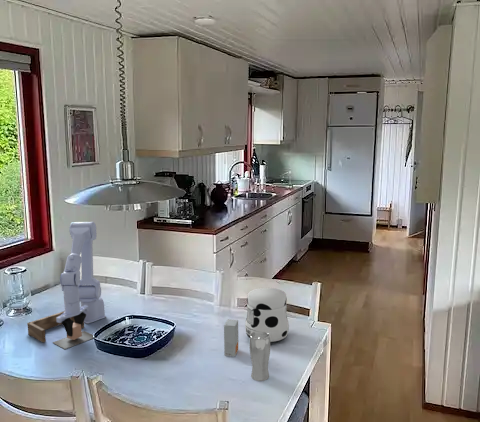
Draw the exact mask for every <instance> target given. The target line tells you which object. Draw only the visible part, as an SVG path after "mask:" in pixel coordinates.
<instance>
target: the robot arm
mask: <svg viewBox="0 0 480 422" xmlns="http://www.w3.org/2000/svg"><path fill="white" fill-rule="evenodd" d="M68 228H69V231H68V232H69V235H70V237H71V239H72V242H71V250H70V254H68V255H67V257H66V261H65V264H64V265H65V266H64V269H63V272H61V273H60V275H59V284H60V287H61V291H63V292H62V293H63V301H64V313H63V314H61V315H60V316H58V317H56V321H57V322H58V323H62V324H61V325H62V326H63V328H64V330H65V332H66V336H67V335H68V336H72V335H73V330H72V328H73V322H74V321H73V320H71V319H70V318H71V317H74V320H75V323H78V324H81V330H82V329H83V328H82V325H83V322H84V324H86V325H87V324H91V323H93V322H97V321H101V320H103V319H105V318H106V317H107V316H106V314H105V313H106V310H105V303H104V299H103V298H102V297H101V295H102V287H101V282H100V280H98V279H97V278H95V277H94V253H93V250H94V249H93V244H94V243H93V241H95V240H97V225H96V223H95V221H75V222H74V221H72V222H71V223H70V224H69V227H68Z"/></svg>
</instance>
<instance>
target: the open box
mask: <svg viewBox="0 0 480 422" xmlns="http://www.w3.org/2000/svg"><path fill="white" fill-rule="evenodd" d="M63 313H64V311H61V312H57V313H53V314H51V315H48V316H44V317H41V318H38V319H36V320H32V321H29V322H26V323H27V335H28V336H30V337H33V338H34V339H36V340H38V341H39V342H41V343H45V342H46V340H47V339H46V331H47V330H49V329H52V328H55V327H57V326H58V327H59V326H60V325H62V323H58V322H57V321H56V317H58V316H60V315H61V314H63ZM70 319H71V320H73V321H74V322H73V323H75V320H74V317H71V318H70ZM84 328H85V322H83V325H82V329H84ZM93 335H94V334H92V333H90V332H88V331H86V330H83V331H82V336H81V337H79V338H77V339H75V340H72V339H69V338H67V336H66V337H64V338H61V339H58V340H56V341H52V344H54V345H55V346H57V347H60V348H61V349H63V350H68V349H70V348H72V347H75V346H79V345H81V344H83V343H86V342H89V341H90V340H93Z"/></svg>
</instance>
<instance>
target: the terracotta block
mask: <svg viewBox="0 0 480 422" xmlns="http://www.w3.org/2000/svg"><path fill="white" fill-rule="evenodd" d="M72 330H73V335H72V336H68V335H67V334H66V337H67V338H69V339H72V340H75V339H77V338H79V337H81V336H82V330H81V324H78V323H73V328H72Z"/></svg>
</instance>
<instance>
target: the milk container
mask: <svg viewBox="0 0 480 422" xmlns="http://www.w3.org/2000/svg"><path fill="white" fill-rule="evenodd" d="M287 302H288V301H287V293H286V292H285V291H284V290H282V289H278V288H274V287H273V288H272V287H261V288H260V287H259V288H255V289H252V290H250V291H249V292H248V293H247V297H246V303H247V304H246V310H247V315H246V320H245V324H244V329H245V334H246V335H247V337H248V338H249V339H250V334H251V333H252V332H254V331H265V332H268V333H269V334H270V344H273V343H279V342H280V341H283V340H284V339H286V337H287V336H288V334H289V328H290V324H289V319H288V316H287V313H288V312H287V309H288V308H287V307H288V306H287Z"/></svg>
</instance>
